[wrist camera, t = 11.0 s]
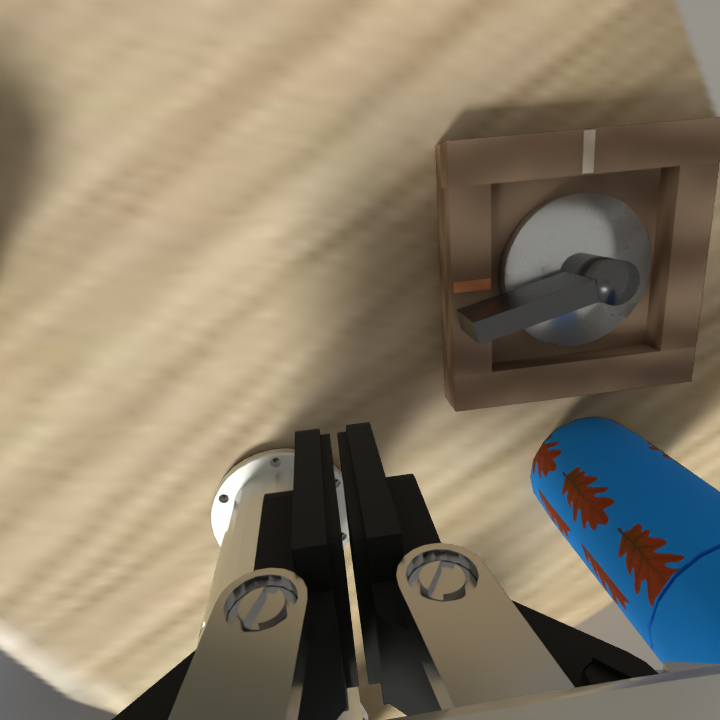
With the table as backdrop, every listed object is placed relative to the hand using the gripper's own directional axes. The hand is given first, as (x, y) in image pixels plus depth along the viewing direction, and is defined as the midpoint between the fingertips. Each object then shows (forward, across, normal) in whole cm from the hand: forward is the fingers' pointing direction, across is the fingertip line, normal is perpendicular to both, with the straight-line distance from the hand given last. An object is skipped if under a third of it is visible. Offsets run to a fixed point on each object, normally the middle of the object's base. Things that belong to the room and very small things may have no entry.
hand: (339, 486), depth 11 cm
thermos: (+29, -23, +20) cm, 42 cm away
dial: (+28, -18, +1) cm, 33 cm away
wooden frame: (+29, -20, +1) cm, 35 cm away
